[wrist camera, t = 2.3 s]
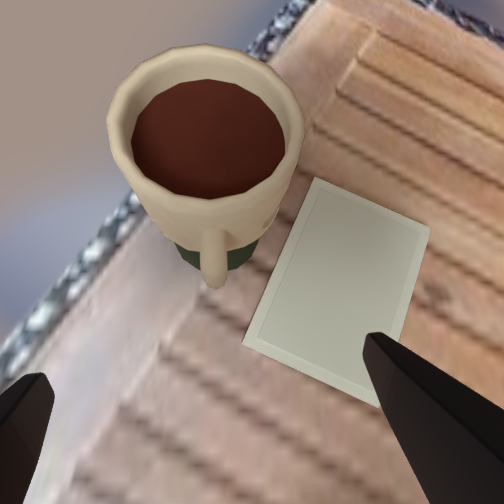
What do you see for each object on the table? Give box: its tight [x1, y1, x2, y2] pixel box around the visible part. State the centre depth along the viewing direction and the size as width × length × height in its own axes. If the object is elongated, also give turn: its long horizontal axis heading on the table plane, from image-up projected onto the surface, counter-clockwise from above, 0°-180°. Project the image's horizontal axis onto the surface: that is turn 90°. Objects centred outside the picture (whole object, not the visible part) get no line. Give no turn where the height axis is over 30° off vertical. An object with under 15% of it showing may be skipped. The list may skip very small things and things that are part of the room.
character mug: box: [106, 43, 305, 289], centre depth 17 cm, size 11×7×13 cm, turn 3°
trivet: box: [241, 177, 431, 408], centre depth 23 cm, size 10×14×1 cm
